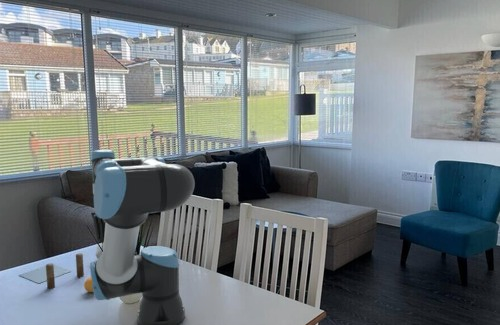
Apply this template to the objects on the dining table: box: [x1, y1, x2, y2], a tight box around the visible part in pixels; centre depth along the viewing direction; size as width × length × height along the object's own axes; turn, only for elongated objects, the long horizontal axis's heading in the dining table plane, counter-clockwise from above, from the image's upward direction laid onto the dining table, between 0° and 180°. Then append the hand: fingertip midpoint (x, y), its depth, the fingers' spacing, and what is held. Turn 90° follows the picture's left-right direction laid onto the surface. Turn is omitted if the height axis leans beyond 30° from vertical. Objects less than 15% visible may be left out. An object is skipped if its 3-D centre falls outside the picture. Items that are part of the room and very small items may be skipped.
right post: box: [75, 253, 85, 278], centre depth 164 cm, size 3×3×9 cm
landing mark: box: [18, 264, 72, 284], centre depth 167 cm, size 14×14×1 cm
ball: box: [83, 276, 94, 293], centre depth 151 cm, size 6×6×6 cm
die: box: [95, 243, 103, 260], centre depth 180 cm, size 8×9×10 cm
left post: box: [45, 262, 56, 290], centre depth 154 cm, size 3×3×9 cm
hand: (107, 259), depth 144 cm, fingers closed
